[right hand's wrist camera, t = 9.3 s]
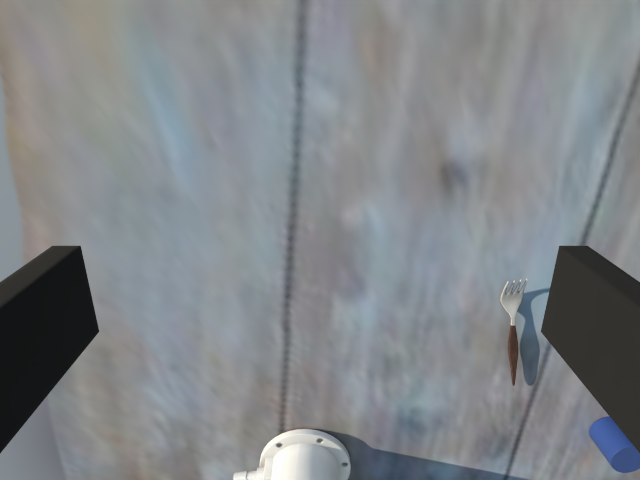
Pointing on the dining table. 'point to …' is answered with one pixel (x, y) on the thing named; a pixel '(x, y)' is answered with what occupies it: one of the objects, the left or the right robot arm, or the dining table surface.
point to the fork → (512, 322)
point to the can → (615, 445)
